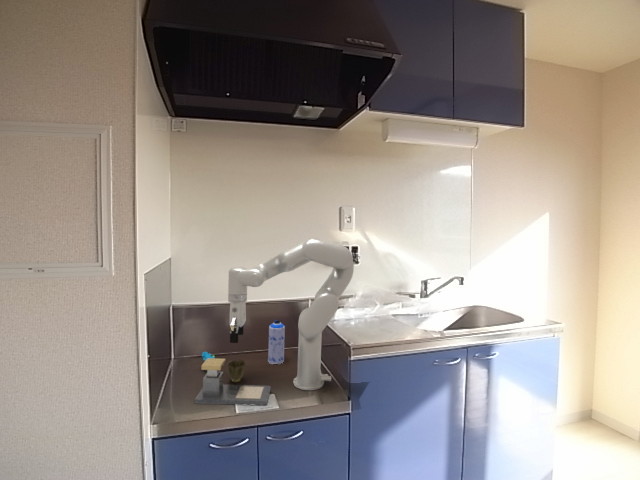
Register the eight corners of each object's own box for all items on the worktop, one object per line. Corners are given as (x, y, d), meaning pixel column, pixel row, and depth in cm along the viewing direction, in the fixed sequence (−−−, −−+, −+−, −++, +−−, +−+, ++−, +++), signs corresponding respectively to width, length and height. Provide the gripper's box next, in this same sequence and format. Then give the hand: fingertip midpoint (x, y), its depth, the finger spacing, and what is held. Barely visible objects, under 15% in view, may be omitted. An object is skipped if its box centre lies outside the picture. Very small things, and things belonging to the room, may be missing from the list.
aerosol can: (287, 359, 169) (288, 319, 168) (279, 365, 162) (280, 323, 161) (273, 356, 172) (274, 316, 171) (264, 362, 165) (265, 320, 164)
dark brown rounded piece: (246, 377, 148) (247, 359, 148) (243, 386, 141) (243, 366, 141) (229, 377, 148) (229, 358, 148) (224, 385, 141) (225, 366, 140)
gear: (217, 370, 151) (201, 353, 151) (206, 380, 150) (191, 363, 151) (223, 363, 162) (208, 347, 162) (213, 372, 161) (199, 356, 162)
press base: (270, 389, 139) (271, 369, 138) (266, 405, 127) (266, 383, 126) (204, 387, 139) (205, 367, 138) (194, 403, 127) (194, 381, 126)
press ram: (225, 378, 136) (225, 358, 135) (220, 387, 129) (220, 366, 128) (206, 378, 136) (207, 358, 135) (201, 386, 129) (201, 365, 128)
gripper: (242, 302, 134) (241, 346, 135) (250, 293, 151) (249, 332, 152) (222, 302, 134) (222, 345, 135) (233, 292, 151) (232, 331, 152)
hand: (236, 338), depth 144 cm, fingers open, 9 cm apart
